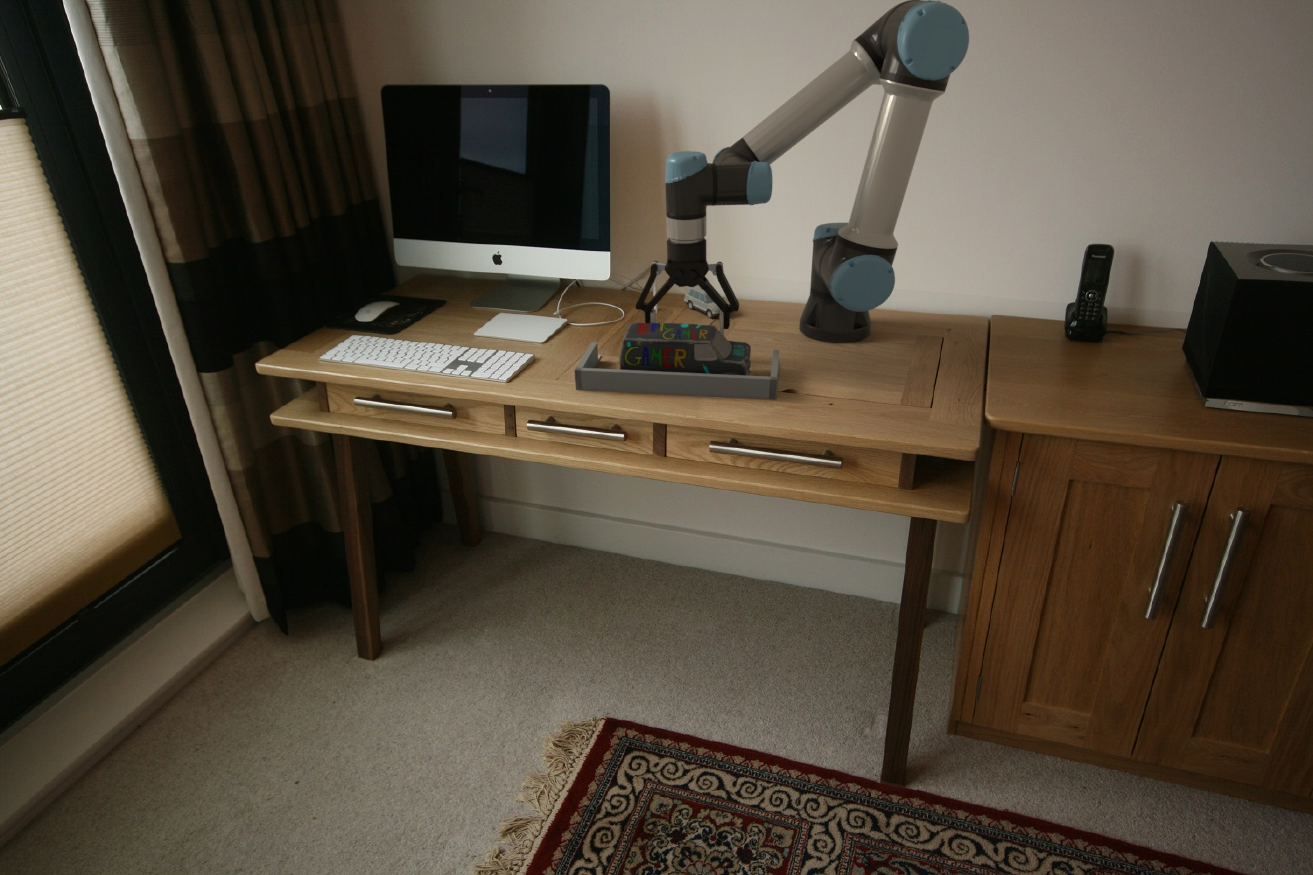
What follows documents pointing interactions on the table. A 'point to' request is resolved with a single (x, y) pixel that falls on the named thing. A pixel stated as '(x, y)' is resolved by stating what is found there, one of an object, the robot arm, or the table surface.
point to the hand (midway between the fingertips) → (687, 343)
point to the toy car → (701, 302)
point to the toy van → (682, 350)
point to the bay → (673, 380)
